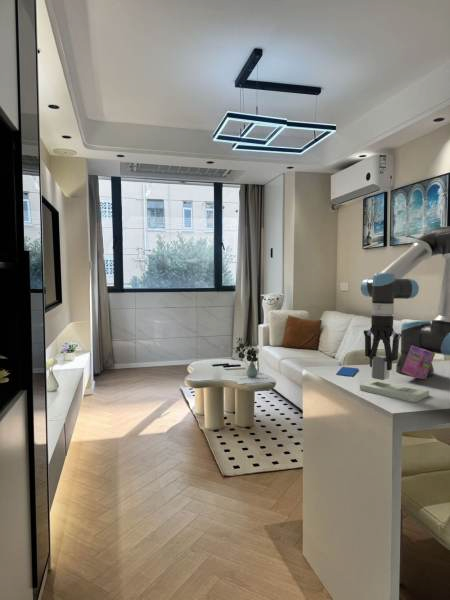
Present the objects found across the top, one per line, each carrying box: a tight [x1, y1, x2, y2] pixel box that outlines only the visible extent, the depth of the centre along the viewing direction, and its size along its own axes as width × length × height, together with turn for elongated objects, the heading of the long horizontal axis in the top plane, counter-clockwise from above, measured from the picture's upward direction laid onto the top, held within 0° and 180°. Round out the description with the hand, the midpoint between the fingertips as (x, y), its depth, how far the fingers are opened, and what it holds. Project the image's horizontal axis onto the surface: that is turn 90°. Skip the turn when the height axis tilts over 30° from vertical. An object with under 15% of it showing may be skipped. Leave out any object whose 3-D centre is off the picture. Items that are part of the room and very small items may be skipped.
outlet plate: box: [359, 378, 430, 403], centre depth 142 cm, size 12×20×2 cm, turn 42°
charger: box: [371, 355, 386, 381], centre depth 145 cm, size 4×4×8 cm
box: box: [402, 345, 436, 380], centre depth 160 cm, size 10×6×12 cm, turn 128°
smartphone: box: [335, 366, 359, 378], centre depth 174 cm, size 7×1×15 cm
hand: (380, 377), depth 146 cm, fingers closed on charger, 4 cm apart
